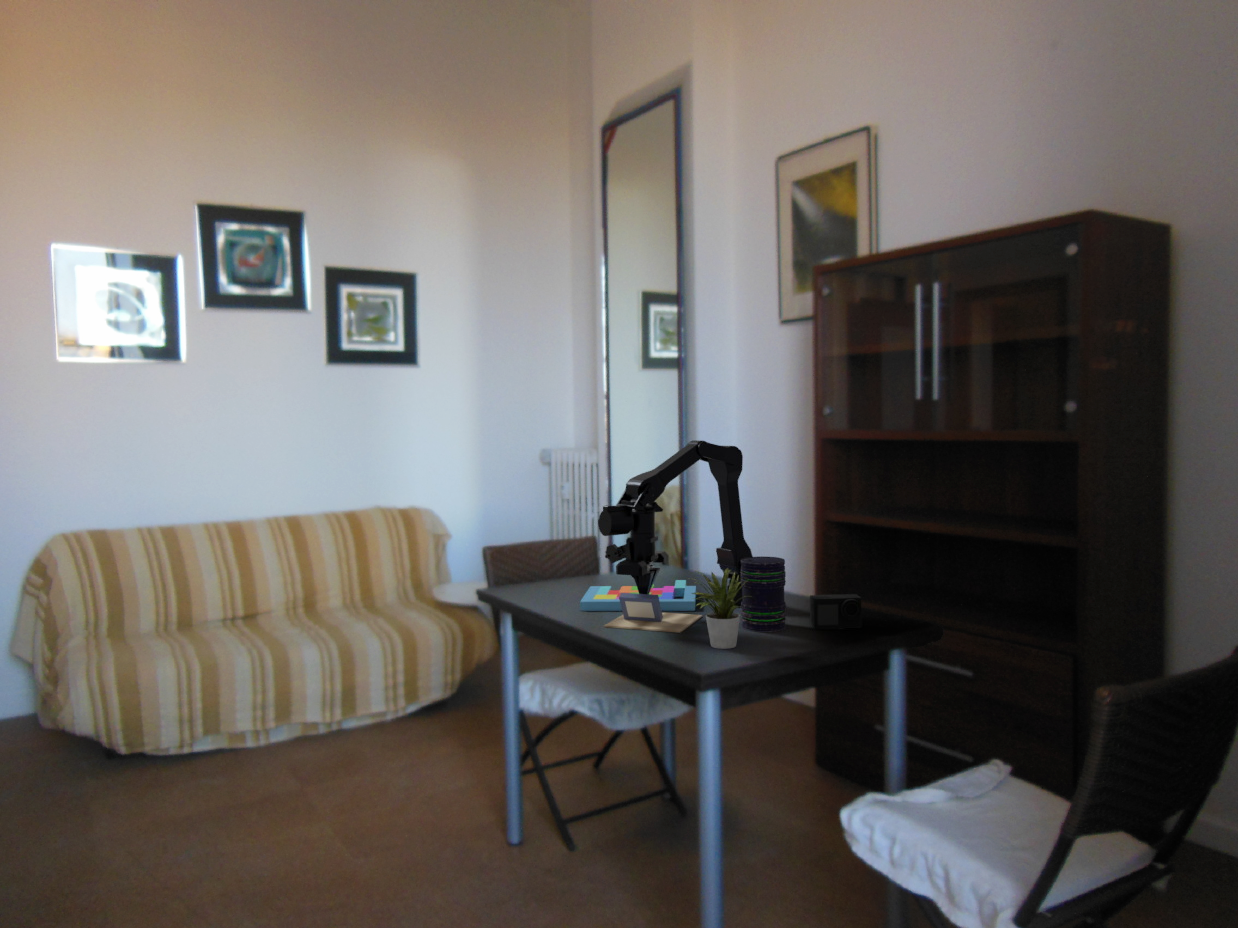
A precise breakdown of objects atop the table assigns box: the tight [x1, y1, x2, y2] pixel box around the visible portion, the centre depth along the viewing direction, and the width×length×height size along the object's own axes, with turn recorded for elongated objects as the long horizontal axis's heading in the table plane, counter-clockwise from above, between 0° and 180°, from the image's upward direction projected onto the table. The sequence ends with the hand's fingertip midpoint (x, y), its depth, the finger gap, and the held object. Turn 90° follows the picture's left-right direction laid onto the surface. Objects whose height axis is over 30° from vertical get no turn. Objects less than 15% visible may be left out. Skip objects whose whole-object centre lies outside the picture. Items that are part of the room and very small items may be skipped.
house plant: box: [685, 568, 752, 650], centre depth 184 cm, size 14×14×16 cm
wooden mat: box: [603, 612, 703, 633], centre depth 206 cm, size 18×16×1 cm
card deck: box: [619, 593, 663, 622], centre depth 204 cm, size 9×2×6 cm, turn 68°
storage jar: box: [740, 556, 787, 633], centre depth 198 cm, size 10×10×15 cm
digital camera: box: [809, 593, 863, 630], centre depth 196 cm, size 10×5×7 cm, turn 91°
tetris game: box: [579, 579, 697, 612], centre depth 232 cm, size 28×3×28 cm
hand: (643, 599), depth 206 cm, fingers closed
